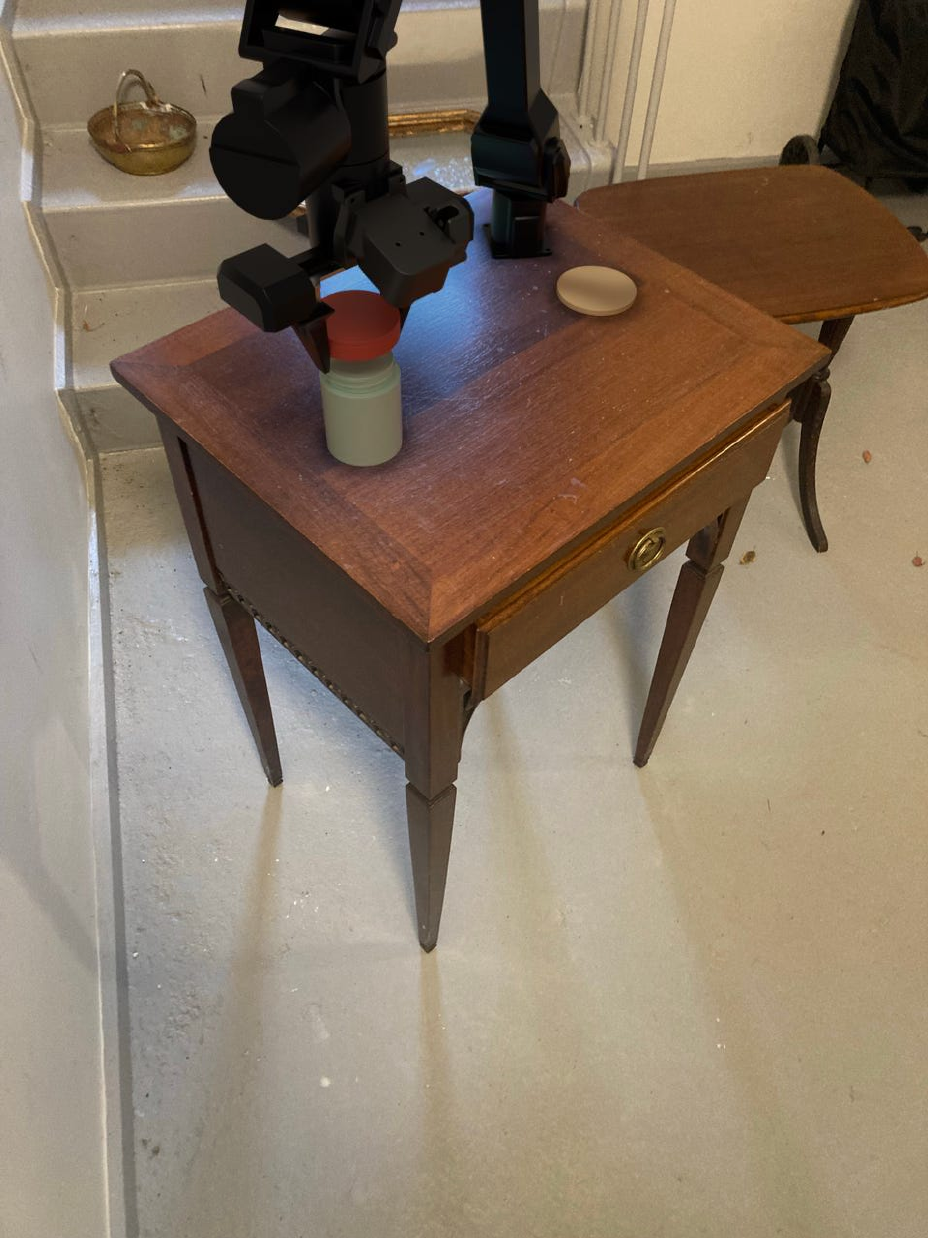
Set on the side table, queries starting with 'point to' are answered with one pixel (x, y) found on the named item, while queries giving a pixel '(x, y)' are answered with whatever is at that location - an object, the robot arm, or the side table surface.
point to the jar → (363, 410)
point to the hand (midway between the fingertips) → (359, 352)
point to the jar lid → (361, 325)
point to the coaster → (596, 290)
